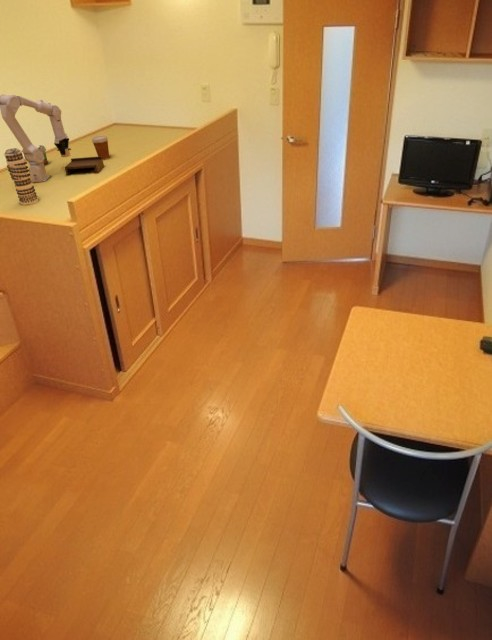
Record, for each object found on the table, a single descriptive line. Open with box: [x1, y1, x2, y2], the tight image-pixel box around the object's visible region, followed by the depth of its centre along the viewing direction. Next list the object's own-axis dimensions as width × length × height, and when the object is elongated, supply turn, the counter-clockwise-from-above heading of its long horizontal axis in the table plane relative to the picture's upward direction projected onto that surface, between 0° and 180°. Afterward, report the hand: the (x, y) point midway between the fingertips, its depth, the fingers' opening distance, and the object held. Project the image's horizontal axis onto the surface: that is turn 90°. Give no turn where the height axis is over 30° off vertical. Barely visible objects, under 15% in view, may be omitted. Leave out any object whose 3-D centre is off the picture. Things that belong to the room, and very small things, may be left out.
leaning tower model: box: [3, 147, 39, 206], centre depth 232 cm, size 9×9×25 cm
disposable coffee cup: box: [91, 135, 110, 160], centre depth 293 cm, size 10×10×12 cm
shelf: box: [64, 156, 105, 176], centre depth 275 cm, size 13×18×6 cm
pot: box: [56, 146, 72, 158], centre depth 276 cm, size 5×8×5 cm
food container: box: [37, 144, 49, 167], centre depth 292 cm, size 12×6×10 cm, turn 168°
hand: (65, 153), depth 277 cm, fingers closed on pot, 5 cm apart
